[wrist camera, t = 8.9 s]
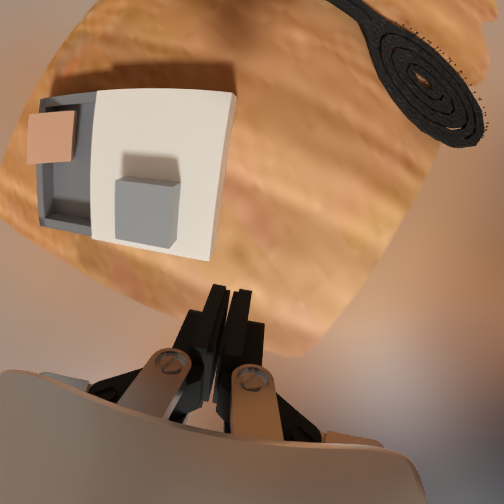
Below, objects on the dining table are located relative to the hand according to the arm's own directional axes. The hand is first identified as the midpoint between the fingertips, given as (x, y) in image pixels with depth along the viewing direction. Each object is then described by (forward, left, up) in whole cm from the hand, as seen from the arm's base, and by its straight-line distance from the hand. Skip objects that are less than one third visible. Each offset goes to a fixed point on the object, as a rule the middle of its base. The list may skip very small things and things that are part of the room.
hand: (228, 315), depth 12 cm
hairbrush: (-19, +8, -15) cm, 26 cm away
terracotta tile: (-6, -20, -11) cm, 24 cm away
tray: (-3, -19, -15) cm, 24 cm away
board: (-3, -9, -15) cm, 18 cm away
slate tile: (0, -9, -12) cm, 14 cm away
